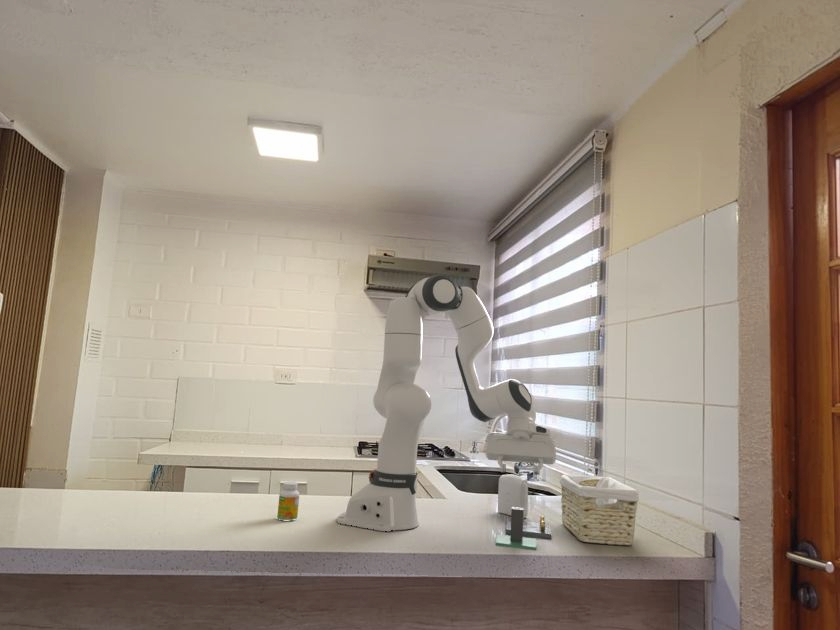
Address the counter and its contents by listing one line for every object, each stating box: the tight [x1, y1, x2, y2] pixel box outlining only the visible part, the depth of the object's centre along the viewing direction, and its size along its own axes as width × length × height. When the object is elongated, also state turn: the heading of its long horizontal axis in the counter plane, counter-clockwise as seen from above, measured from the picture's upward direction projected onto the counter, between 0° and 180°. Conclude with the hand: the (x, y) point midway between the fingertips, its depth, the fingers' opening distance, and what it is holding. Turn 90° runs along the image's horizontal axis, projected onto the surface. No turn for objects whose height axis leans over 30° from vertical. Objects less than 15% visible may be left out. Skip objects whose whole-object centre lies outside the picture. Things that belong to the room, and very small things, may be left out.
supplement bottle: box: [276, 481, 300, 521], centre depth 148 cm, size 5×5×10 cm
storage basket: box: [559, 473, 640, 546], centre depth 153 cm, size 24×16×15 cm
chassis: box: [505, 515, 552, 540], centre depth 151 cm, size 12×12×4 cm
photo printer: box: [497, 473, 529, 519], centre depth 170 cm, size 10×4×12 cm, turn 39°
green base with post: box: [495, 507, 537, 551], centre depth 139 cm, size 10×8×9 cm
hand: (519, 472), depth 153 cm, fingers open, 8 cm apart
